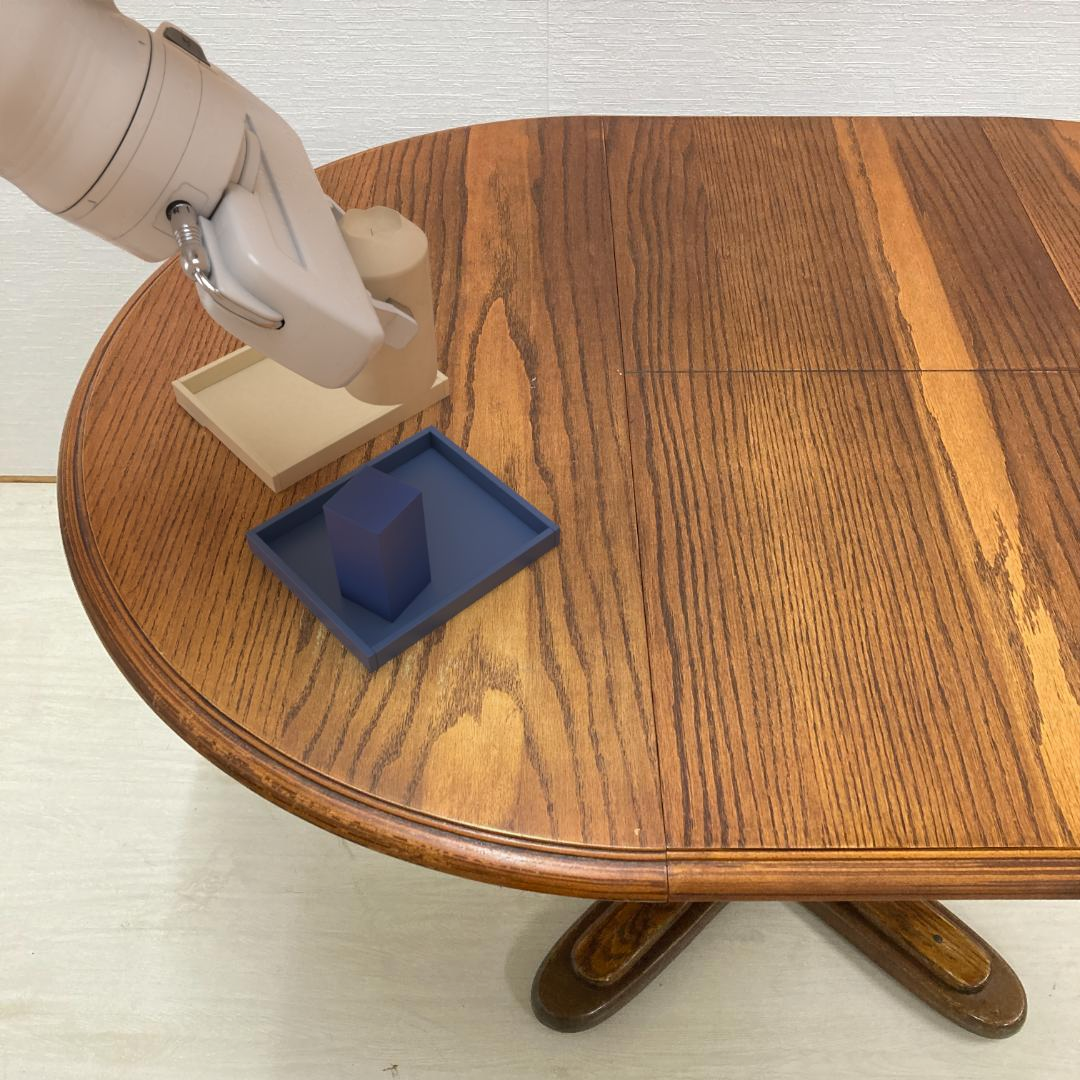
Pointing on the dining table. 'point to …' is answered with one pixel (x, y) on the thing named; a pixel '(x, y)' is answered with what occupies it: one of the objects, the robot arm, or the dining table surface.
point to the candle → (404, 275)
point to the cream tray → (286, 415)
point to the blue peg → (379, 542)
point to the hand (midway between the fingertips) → (390, 293)
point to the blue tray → (452, 537)
